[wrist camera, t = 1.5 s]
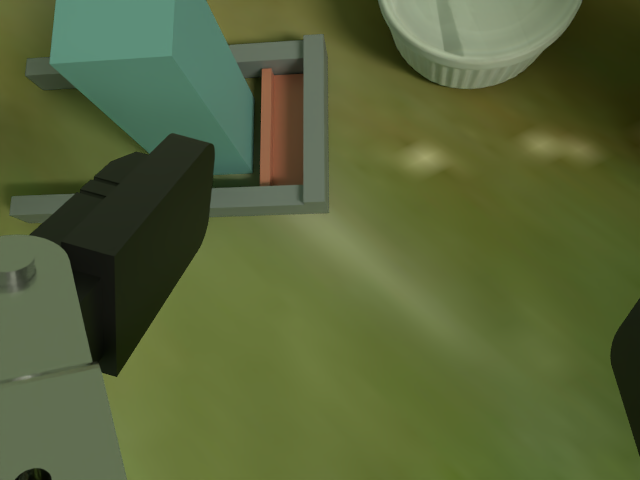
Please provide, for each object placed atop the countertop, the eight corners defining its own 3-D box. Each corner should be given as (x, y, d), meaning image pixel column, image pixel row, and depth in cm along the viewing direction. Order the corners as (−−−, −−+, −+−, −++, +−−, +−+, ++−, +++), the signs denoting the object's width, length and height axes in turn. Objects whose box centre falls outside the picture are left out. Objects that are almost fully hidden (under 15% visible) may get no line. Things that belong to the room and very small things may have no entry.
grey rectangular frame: (327, 56, 37) (323, 33, 34) (328, 212, 35) (324, 201, 32) (45, 73, 39) (22, 54, 37) (29, 223, 37) (4, 213, 34)
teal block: (254, 98, 37) (177, -57, 23) (253, 173, 36) (171, 56, 22) (178, 102, 37) (60, -47, 24) (175, 176, 36) (49, 64, 23)
